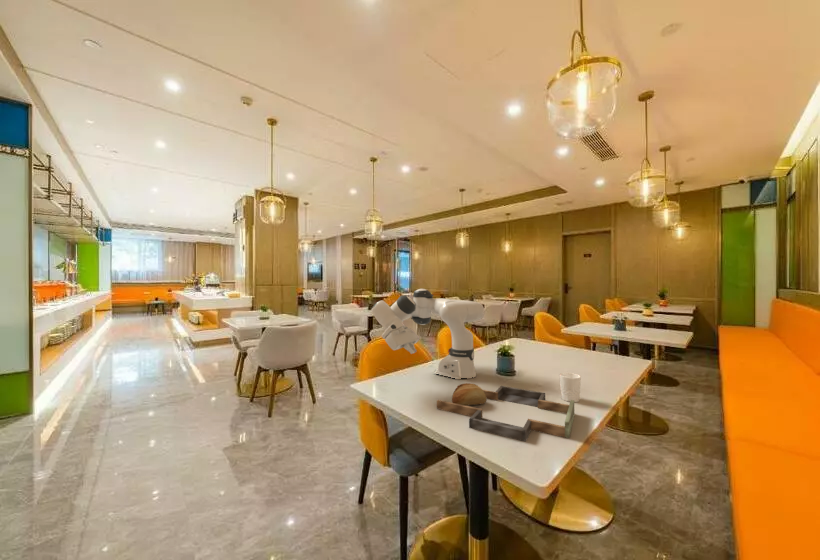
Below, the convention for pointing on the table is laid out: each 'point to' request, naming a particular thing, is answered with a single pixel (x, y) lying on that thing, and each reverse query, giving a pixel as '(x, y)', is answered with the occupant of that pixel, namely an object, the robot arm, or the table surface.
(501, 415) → the table surface
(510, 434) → the box
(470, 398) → the bread roll
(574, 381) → the white cup
